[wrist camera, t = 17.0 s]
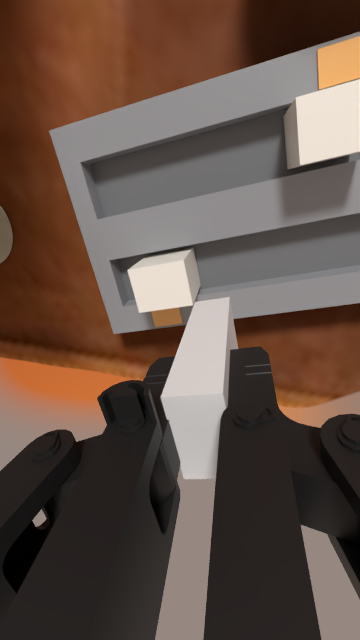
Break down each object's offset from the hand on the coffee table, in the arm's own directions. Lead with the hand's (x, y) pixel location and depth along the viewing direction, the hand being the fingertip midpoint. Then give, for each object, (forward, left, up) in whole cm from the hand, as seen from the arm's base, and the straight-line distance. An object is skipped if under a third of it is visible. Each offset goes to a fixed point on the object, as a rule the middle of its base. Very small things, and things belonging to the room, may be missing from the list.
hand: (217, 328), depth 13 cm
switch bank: (-3, +1, -21) cm, 21 cm away
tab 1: (+1, -6, -19) cm, 20 cm away
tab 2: (-8, +8, -19) cm, 22 cm away
